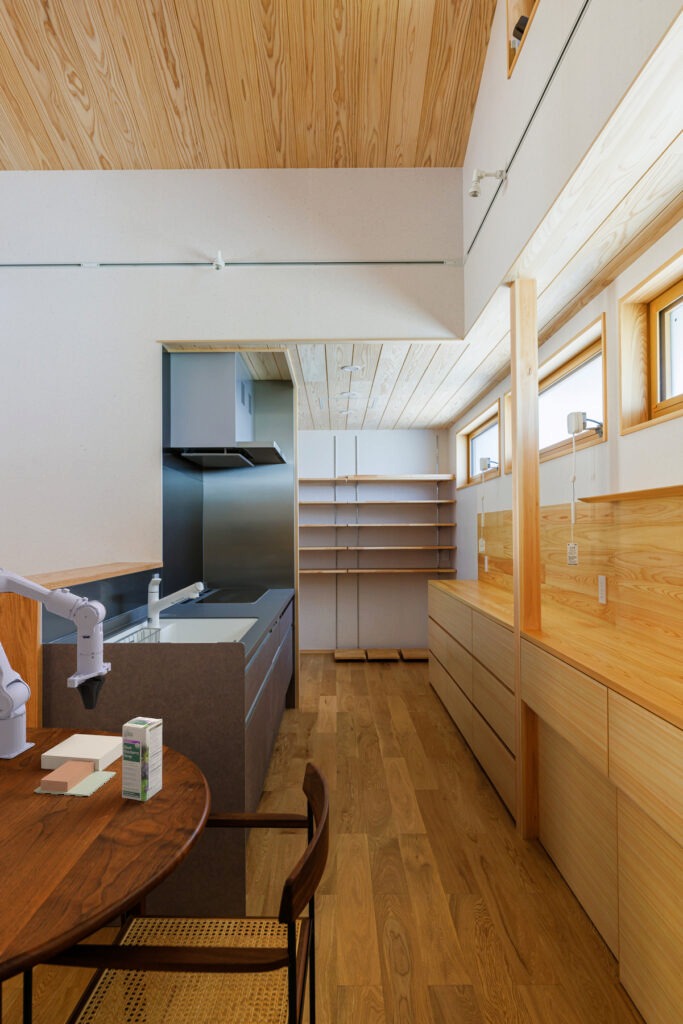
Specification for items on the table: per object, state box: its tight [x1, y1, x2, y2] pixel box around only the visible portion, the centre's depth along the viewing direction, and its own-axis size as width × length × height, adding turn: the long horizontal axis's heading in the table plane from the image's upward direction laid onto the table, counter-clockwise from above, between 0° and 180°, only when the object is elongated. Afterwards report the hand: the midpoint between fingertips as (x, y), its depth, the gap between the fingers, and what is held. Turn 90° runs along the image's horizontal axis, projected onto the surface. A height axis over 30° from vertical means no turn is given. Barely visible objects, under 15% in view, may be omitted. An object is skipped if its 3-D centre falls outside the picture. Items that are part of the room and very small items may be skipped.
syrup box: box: [121, 716, 163, 803], centre depth 113 cm, size 6×6×14 cm
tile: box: [40, 761, 94, 792], centre depth 117 cm, size 6×9×2 cm, turn 171°
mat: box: [33, 770, 117, 797], centre depth 117 cm, size 12×10×1 cm
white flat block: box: [40, 733, 122, 771], centre depth 129 cm, size 14×12×3 cm
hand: (90, 708), depth 135 cm, fingers closed
